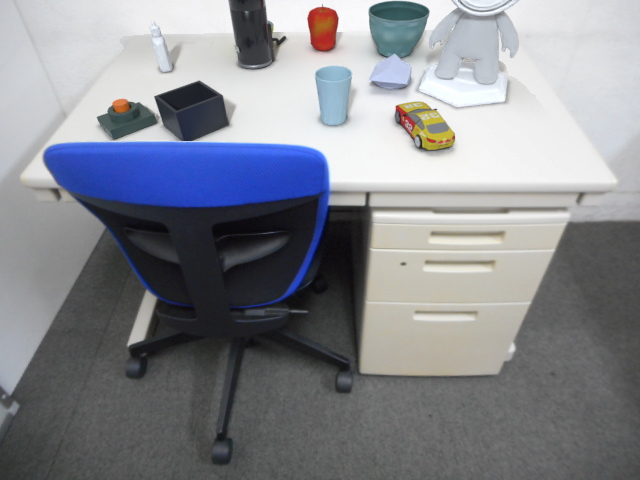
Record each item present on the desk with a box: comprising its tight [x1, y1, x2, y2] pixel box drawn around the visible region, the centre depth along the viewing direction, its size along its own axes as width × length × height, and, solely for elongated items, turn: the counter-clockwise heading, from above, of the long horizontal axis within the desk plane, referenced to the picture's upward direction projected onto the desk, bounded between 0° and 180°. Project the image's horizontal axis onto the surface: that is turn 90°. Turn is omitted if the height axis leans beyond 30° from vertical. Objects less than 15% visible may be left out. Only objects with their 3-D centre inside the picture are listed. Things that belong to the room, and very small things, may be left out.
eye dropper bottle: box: [149, 20, 173, 73], centre depth 109 cm, size 4×6×12 cm
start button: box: [111, 98, 130, 113], centre depth 89 cm, size 3×3×2 cm
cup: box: [314, 65, 353, 126], centre depth 88 cm, size 8×8×10 cm
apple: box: [306, 3, 340, 52], centre depth 116 cm, size 9×8×12 cm
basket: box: [153, 80, 230, 142], centre depth 89 cm, size 11×10×7 cm
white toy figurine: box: [418, 0, 520, 108], centre depth 89 cm, size 20×23×35 cm
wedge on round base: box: [368, 54, 413, 90], centre depth 101 cm, size 9×7×13 cm
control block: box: [96, 100, 158, 140], centre depth 91 cm, size 10×8×4 cm
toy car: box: [394, 101, 456, 151], centre depth 85 cm, size 8×17×5 cm, turn 16°
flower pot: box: [367, 0, 431, 58], centre depth 114 cm, size 16×16×11 cm
